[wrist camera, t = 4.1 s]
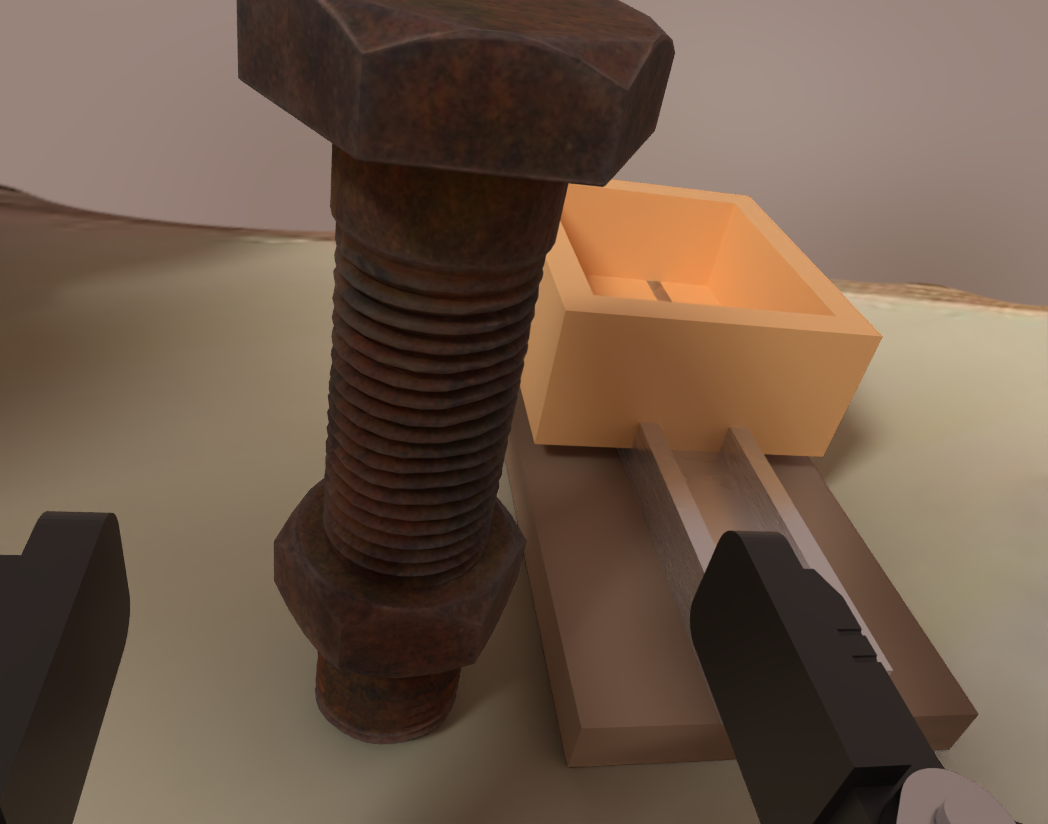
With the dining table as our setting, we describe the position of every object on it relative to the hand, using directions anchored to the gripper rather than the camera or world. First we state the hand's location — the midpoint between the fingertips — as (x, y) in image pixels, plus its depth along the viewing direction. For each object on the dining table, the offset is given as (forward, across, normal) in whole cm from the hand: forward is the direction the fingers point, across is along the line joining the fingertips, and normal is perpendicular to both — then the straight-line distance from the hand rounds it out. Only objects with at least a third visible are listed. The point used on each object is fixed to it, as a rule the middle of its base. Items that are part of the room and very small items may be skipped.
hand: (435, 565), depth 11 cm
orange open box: (+16, -9, +6) cm, 19 cm away
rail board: (+12, -9, +8) cm, 17 cm away
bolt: (+4, 0, +9) cm, 10 cm away
